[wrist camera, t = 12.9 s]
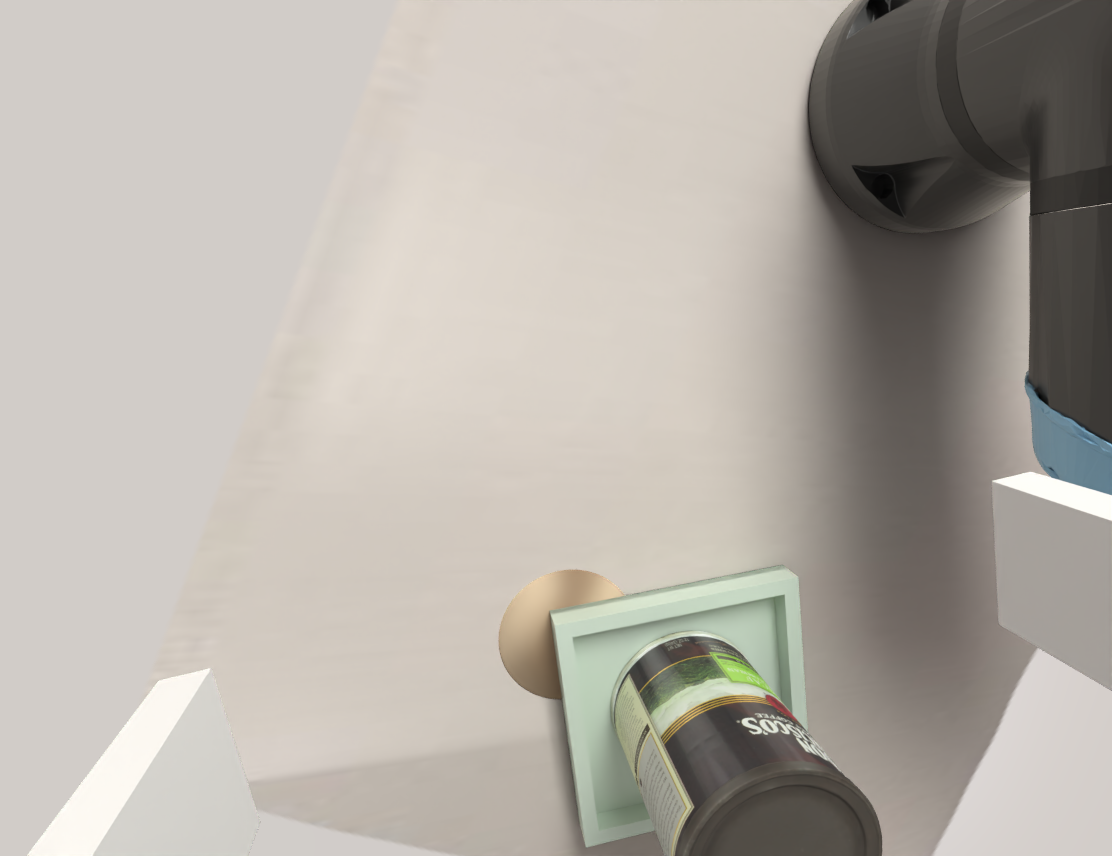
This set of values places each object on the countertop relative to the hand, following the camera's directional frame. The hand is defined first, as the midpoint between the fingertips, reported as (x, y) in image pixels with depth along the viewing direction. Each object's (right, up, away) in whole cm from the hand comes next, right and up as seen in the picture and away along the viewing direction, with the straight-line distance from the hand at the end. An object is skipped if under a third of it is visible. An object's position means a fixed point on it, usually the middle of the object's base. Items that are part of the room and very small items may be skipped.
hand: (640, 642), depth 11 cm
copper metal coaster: (-1, -10, +34) cm, 35 cm away
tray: (+7, -15, +35) cm, 39 cm away
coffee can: (+7, -15, +35) cm, 39 cm away
